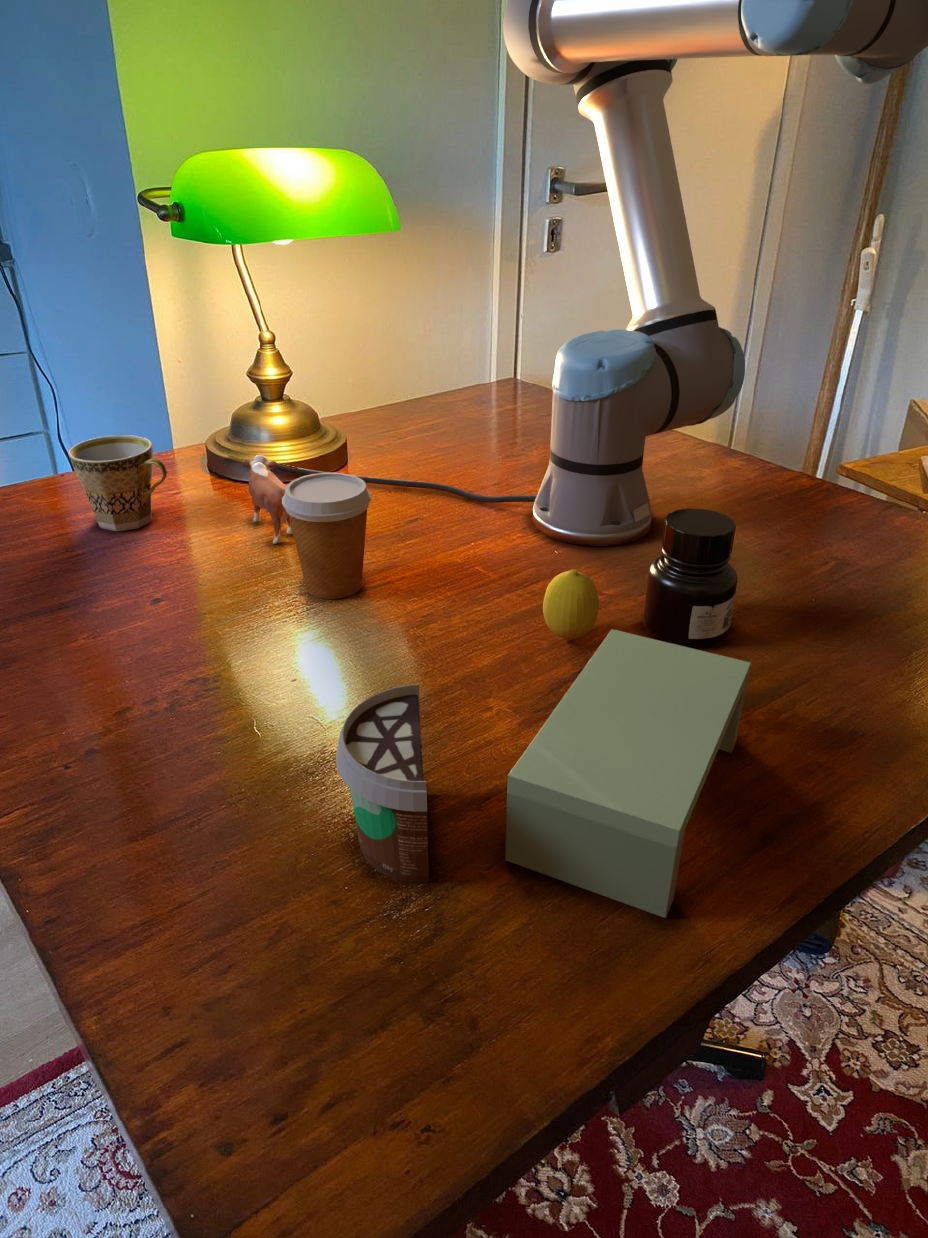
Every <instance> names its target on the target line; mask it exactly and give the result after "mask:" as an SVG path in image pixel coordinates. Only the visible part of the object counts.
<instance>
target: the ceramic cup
mask: <svg viewBox="0 0 928 1238" xmlns="http://www.w3.org/2000/svg"><path fill="white" fill-rule="evenodd" d="M153 447H154V446H153V442H152V441H151V440H150V439H149V438H146V437H145V436H144V437H143V436H139V435H131V434H113V435H104V436H98V437H94V438H90V439H87V440H83V441H81V442H78V443H76V444H75V445H73V446H72V447H70V449H69V450H68V452H67V454H68V457H69V460H70V462H71V465H72V468H73V470H74V471H75V474H76V477H77V479H78V481H79V483H80V485H81V486H82V489H83V490H84V492H85V494H86V497H87V500H88V502H89V504H90V507H91V509H92V512H93V514H94V517H95V519H96V521H97V523H98V526H99V527H100V528H101V529H104V530H108V531H113V532H122V531H129V530H135V529H140V528H141V527H143V526H146V525H147V524H149V523H150V522H152V493H154V491H155V490H156V488H157V487H158V486H159V485H161V484H162V483H163V482H165V480H166V478H167V476H168V471H167V468H166V466H165V464H164V462H162V461H161V459H158V458H154V448H153ZM154 466H157V467H158V468H159V469H160V470H161V474H162V475H161V478H160V479H159V480H158V481H156V482H155V483H153V485H152V480H153V479H152V478H153V467H154Z"/></svg>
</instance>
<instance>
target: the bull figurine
mask: <svg viewBox="0 0 928 1238" xmlns="http://www.w3.org/2000/svg"><path fill="white" fill-rule="evenodd" d="M253 457H254V459H253V461H252V462H251V461H249V460H245V461H244V460H242V462H241V465H242V466H243V467H244V468H250V471H249V481H248V493H249V494H250V496H251V502H252V506H253V513H254V516H253V518H252V523H254V524H255V523H260V522H261V515H260V512H261V511H264V512H266V513H268V514H269V515H270V517H271V521H272V525H273V532H274V539H273V541H272V544H273V545H280V543H281V535H280V531H281V524H282V525H283V524H285V523H287V528H286V531H285V533H286V534H287V535H293V532H292V528H291V523H290V519H289V516H288V513H287V512H286V509H285V508H284V506H283V505H282V498H283V496H284V495H285V489H286V486H287V485H286V484H285V483H283V482H282V481H281V480H280V479H279V478H278V477H277V475H276V474H275V473H274V472H273V471H271V470H270V469H274V468H275V467H277V461H275V460H271V461H270V460H269V459H268V457H266V456H265V455H263V454H257V455H255V456H253ZM269 461H270V462H269Z"/></svg>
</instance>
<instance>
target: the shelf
mask: <svg viewBox="0 0 928 1238" xmlns="http://www.w3.org/2000/svg"><path fill="white" fill-rule="evenodd" d="M751 666H752V662H750V661H746V660H742V659H738V658H733V657H729V656H725V655H721V654H717V653H713V652H708V651H704V650H700V649H696V648H692V647H689V646H684V645H678V644H674V643H671V642H667V641H664V640H658V639H655V638H650V637H646V636H642V635H638V634H633V633H630V632H625V631H622V630H618V629H613V628H611V630H610V631H609V632H608V634H607V635H606V637H604V639H603V641H602V642H601V644H600V645H599V647H597V649H596V651H594V652H593V655H592V656H591V657H590V659H589V660H588V662H587V663H586V665H584V667H583V669H582V670H581V671H580V673H579V674H578V675H577V678H575V680H574V682H573V683H572V684H571V685H570V687H569V688H568V690H567V691H566V692H565V694H564V696H563V697H562V698H561V700H560V701H559V703H558V704H557V705H556V707H555V708H554V709H553V711H552V712H551V714H550V715H549V716H548V718H547V719H546V721H545V722H544V724H543V725H542V727H541V728H540V729H539V731H538V732H537V733H536V735H535V736H534V738H533V739H532V741H531V742H530V743H529V745H528V746H527V748H526V749H525V750H524V751H523V754H521V756H520V757H519V759H518V760H517V762H516V763H515V765H513V767H512V768H511V770H510V772H509V773H508V774H507V788H506V791H507V794H506V820H505V821H506V822H505V823H506V824H505V853H504V856H505V857H504V860H505V861H506V862H509V863H512V864H515V865H517V866H520V867H523V868H526V869H528V870H531V871H534V872H536V873H539V874H542V875H545V876H548V877H551V878H554V879H556V880H559V881H561V882H564V883H567V884H569V885H573V886H575V887H578V888H581V889H583V890H586V891H589V892H592V893H595V894H598V895H600V896H602V897H606V898H608V899H611V900H613V901H615V902H616V901H617V902H619V903H622V904H625V905H628V906H630V907H633V908H636V909H639V910H641V911H644V912H646V913H650V914H652V915H656V916H657V917H660V918H663V919H667V917H668V915H669V912H670V909H671V907H672V905H673V901H674V900H675V893H676V888H677V881H678V876H679V871H680V870H679V869H680V863H681V857H682V851H683V846H684V839H685V834H686V833H685V832H686V828H687V826H688V823H689V820H690V819H691V816H692V814H693V811H694V810H695V807H696V804H697V802H698V799H699V797H700V795H701V792H702V790H703V788H704V784H705V782H706V780H707V778H708V775H709V773H710V770H711V769H712V766H713V765H714V760H715V758H716V756H717V754H718V752H719V750H720V751H724V752H727V753H733V750H734V747H735V745H736V743H737V740H738V735H739V729H740V725H741V724H740V723H741V720H742V713H743V708H744V703H745V697H746V692H747V688H748V684H749V683H748V682H749V677H750V672H751Z"/></svg>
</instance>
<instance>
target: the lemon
mask: <svg viewBox="0 0 928 1238" xmlns="http://www.w3.org/2000/svg"><path fill="white" fill-rule="evenodd" d="M599 609H600V603H599V595H598V590H597V587H596V585H595V583H594V582H593V580H592V579H591V578H590V577H588V575H586V574H585V573H582V572H579V571H578V570H577V569H570V570H566V571H564V572H561V573H559V574H558V575H555V576H554V578H552V579H551V580H550V581H549V583H548V585H547V588H546V590H545V594H544V596H543V602H542V613H543V617H544V621H545V624H546V626H547V627H548V629H549V630H550V631H551V632H552V633H553V634H554V635H555V636H557V637H558V638H559V637H560V638H562V639H564V640H565V641H567V642H572V641H573V640H575V639H578V638H579V639H580V638H581V637H583V636H585V635H586V634H588V633H589V632H590V631H591V630H592V629H593V628H594V626H595V623H596V621H597V619H598V615H599Z"/></svg>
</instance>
